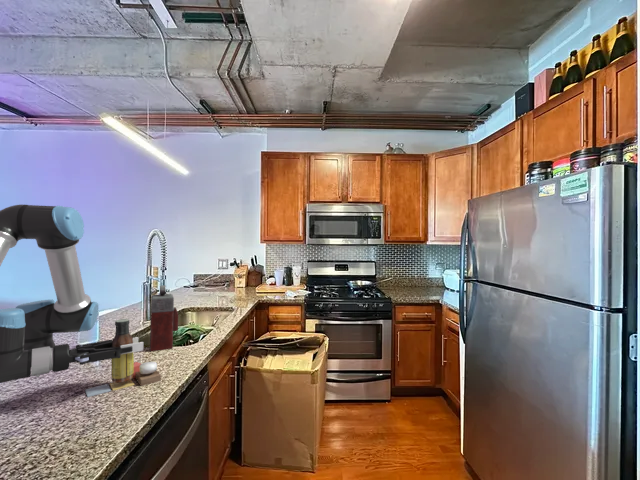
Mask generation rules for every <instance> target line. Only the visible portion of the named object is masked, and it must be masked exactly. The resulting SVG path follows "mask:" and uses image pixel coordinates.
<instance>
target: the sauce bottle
mask: <svg viewBox="0 0 640 480" xmlns="http://www.w3.org/2000/svg"><path fill="white" fill-rule="evenodd" d="M130 323H131V322H130V319H129V318H120V319H117V320H115V321H114V326H115V333H114V337H113V338H114V339H113V338H112V348H114V347H120V346H121V345H127V344H133V338H134V337H133V336H132V335H131V333H130ZM110 360H111V379H112V383H114V382H115V383H121V382H126V381H129V380H132V378H133V373H134V363H135V361H134V352H132V353H127V354H122V355H121V357H120V358H113V359H110ZM133 379H134V378H133Z"/></svg>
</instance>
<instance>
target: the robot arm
mask: <svg viewBox="0 0 640 480" xmlns="http://www.w3.org/2000/svg"><path fill="white" fill-rule="evenodd" d="M84 228H85V224H84V220H83V217H82V215H81V213H80V212H79V210H77V209H75V208H74V207H68V206H63V205H40V204H39V205H38V204H36V205H35V204H15V205H10V206H8V207H5V208H2V209H1V210H0V267H1V266H2V264H3V262H4V260H5V258H6V256H7V255H8V252H9V250H10V249H11V248H14V247H16V246H17V244H18V242H19V241H21V240H35V241H36V244H37V247H38V248H39V249H41V250H44V253H45V256H46V261H47V264H48V268H49V272H50V275H51V276H50V277H51V280H52V285H53V288H54V292H55V296H56V301H55V299H43V300H37V301H30V302H26V303H22V304H19V305H17V306H15V307H11V308H1V309H0V384H2V383H7V382H12V381H16V380H22V379H26V378H31V377H36V378H40V377H41V375H46V374H49V373H50V372H52V373H53V372H54V373H58V372H63V371H67V370H69V368H70V364H72V363H78V364H79V366H80V365H85V364H89V363H94V362H95V363H96V362H101V361H107V360H111V359H113V358H120V357H121V355H122V354H127V353H132V352H133V353H136V352H141V351H144V341H140V342H139V337H138V336H136V337H132V338H133V344H127V345H121V346H120V347H114V348H112V341H113V339H114V337H113V338H112V339H107V340H102V341H96V342H91V343H86V344H85V343H84V344H77V345H75V348H71V349H70V344H69V343H63V344H58V345H56V343H55V341H54V338H53V337H54V336H53V335H54V334H60V333H61V334H63V333H81V332H88V331H90V330H92V329H93V328H94V326H95V324H96V323H97V319H98V315H99V303H98V302H97V301H92V299H91V296H90V295H88V294H86V291H85V287H84V283H83V277H82V273H81V269H80V264H79V258H78V253H77V250H76V249H77V248H76V246H77V244H79V242H80V240H81V239H82V237H83V236H84V234H85V229H84Z"/></svg>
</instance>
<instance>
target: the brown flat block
mask: <svg viewBox="0 0 640 480" xmlns="http://www.w3.org/2000/svg"><path fill="white" fill-rule="evenodd" d="M134 379H135V380H136V381H137V383H139V385H140V386H141V387H142V386H146V385H150V384H154V383H157V382H162V375H161V373H160V372H159V371H158V370H156V371H155V372H153V373H149V374H141V373H140V371H139V372H135V378H134Z"/></svg>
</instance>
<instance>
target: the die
mask: <svg viewBox="0 0 640 480" xmlns="http://www.w3.org/2000/svg"><path fill="white" fill-rule="evenodd" d="M141 364H142V363H140V362H138V361H134V373H133V378H132V379H136V378H135V372H139V371H140V365H141ZM132 379H131V380H132Z"/></svg>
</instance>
